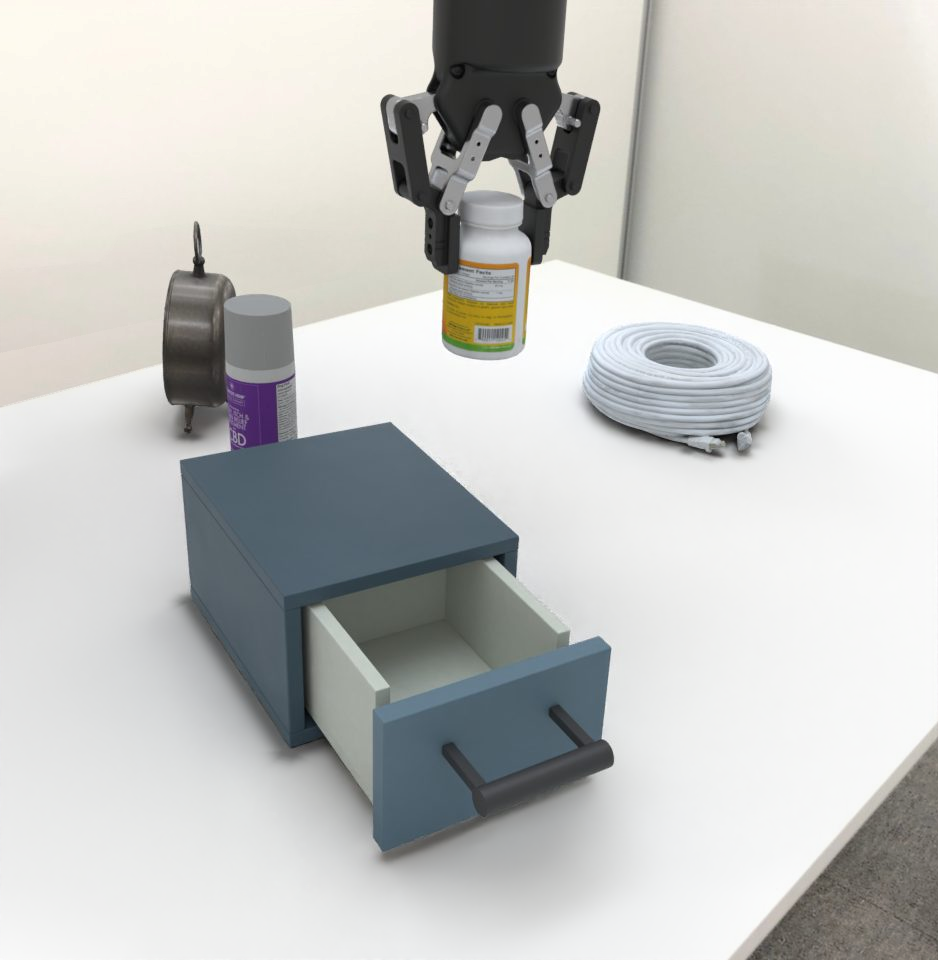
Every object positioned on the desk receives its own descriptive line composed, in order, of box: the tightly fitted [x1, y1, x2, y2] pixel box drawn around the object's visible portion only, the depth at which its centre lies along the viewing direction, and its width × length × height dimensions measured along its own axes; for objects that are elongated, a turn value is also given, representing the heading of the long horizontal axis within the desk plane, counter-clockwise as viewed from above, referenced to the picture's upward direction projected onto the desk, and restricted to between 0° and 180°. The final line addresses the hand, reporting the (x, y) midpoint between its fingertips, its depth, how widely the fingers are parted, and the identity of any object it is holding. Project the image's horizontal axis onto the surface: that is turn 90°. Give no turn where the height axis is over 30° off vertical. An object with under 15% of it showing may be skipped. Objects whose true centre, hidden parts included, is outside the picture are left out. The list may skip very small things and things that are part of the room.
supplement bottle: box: [441, 189, 532, 361], centre depth 75 cm, size 5×5×10 cm
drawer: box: [301, 556, 615, 853], centre depth 63 cm, size 20×13×8 cm, turn 36°
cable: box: [581, 321, 773, 454], centre depth 110 cm, size 18×18×6 cm
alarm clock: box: [161, 220, 237, 434], centre depth 97 cm, size 11×5×16 cm, turn 10°
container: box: [224, 293, 299, 451], centre depth 85 cm, size 5×5×15 cm
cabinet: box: [179, 421, 520, 749], centre depth 72 cm, size 17×14×10 cm
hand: (486, 265), depth 75 cm, fingers closed on supplement bottle, 5 cm apart
